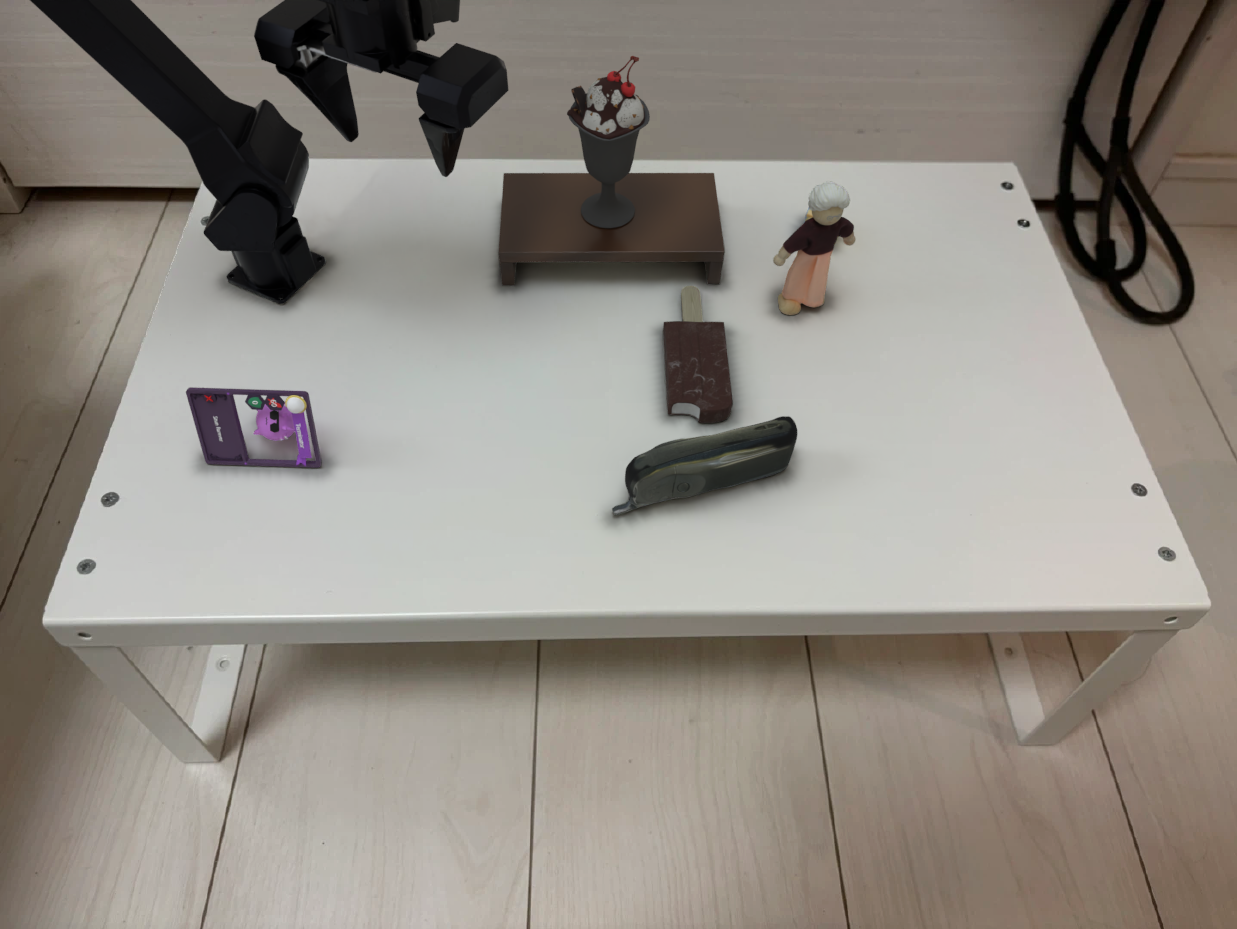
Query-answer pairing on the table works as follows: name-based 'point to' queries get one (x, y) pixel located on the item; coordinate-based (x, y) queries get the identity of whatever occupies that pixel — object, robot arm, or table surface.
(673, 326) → the ice cream bar
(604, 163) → the sundae
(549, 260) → the shelf
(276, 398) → the game card
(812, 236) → the grandmother figurine
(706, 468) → the swiss army knife
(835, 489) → the table surface
